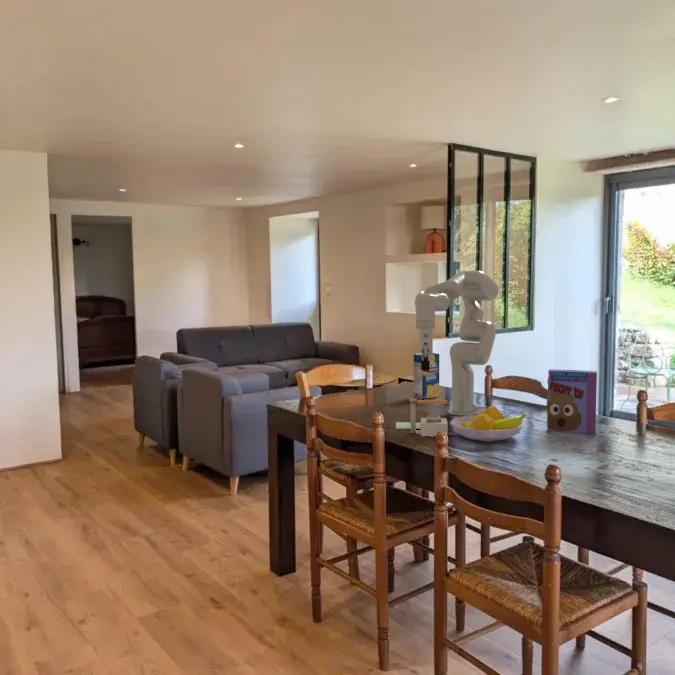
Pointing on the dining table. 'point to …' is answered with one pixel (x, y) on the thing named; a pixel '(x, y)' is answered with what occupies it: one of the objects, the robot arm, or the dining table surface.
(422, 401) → the bar
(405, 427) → the mat
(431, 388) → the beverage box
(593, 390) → the cereal box
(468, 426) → the fruit bowl
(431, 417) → the plug
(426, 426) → the socket block
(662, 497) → the dining table surface
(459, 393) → the robot arm
